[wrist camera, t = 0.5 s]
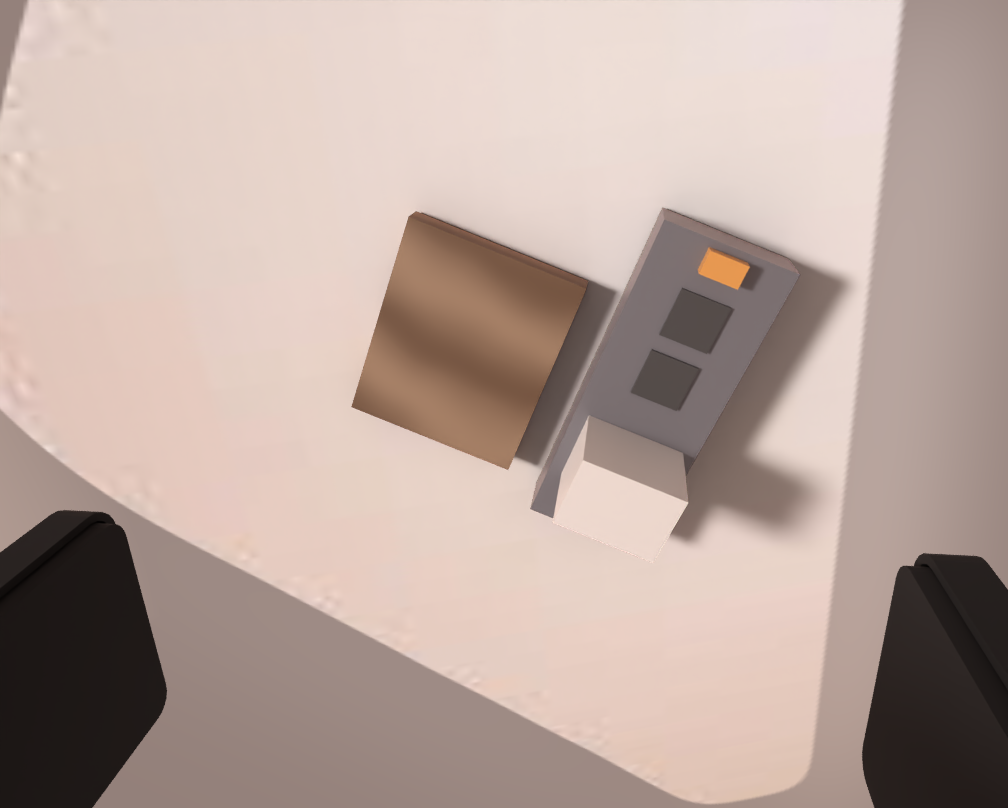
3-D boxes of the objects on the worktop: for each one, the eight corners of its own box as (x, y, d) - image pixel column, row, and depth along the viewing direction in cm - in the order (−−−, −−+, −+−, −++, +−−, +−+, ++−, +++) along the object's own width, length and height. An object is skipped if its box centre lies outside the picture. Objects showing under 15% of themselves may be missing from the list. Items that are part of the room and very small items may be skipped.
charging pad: (416, 211, 41) (408, 216, 39) (588, 280, 41) (586, 288, 40) (359, 396, 46) (351, 407, 45) (512, 457, 46) (508, 469, 45)
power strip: (662, 207, 39) (664, 222, 35) (789, 259, 39) (803, 279, 35) (536, 482, 47) (528, 516, 43) (641, 524, 47) (641, 562, 43)
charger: (590, 403, 42) (582, 460, 36) (681, 440, 42) (688, 502, 36) (563, 460, 44) (552, 522, 38) (651, 495, 44) (653, 563, 38)
